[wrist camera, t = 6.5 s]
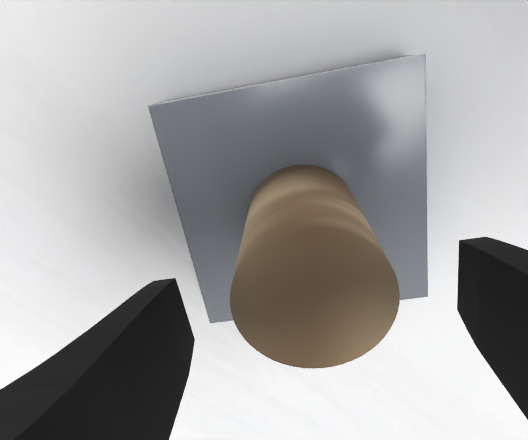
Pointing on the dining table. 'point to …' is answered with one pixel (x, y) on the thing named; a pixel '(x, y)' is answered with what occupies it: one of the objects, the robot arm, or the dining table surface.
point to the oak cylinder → (311, 273)
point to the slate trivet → (301, 161)
